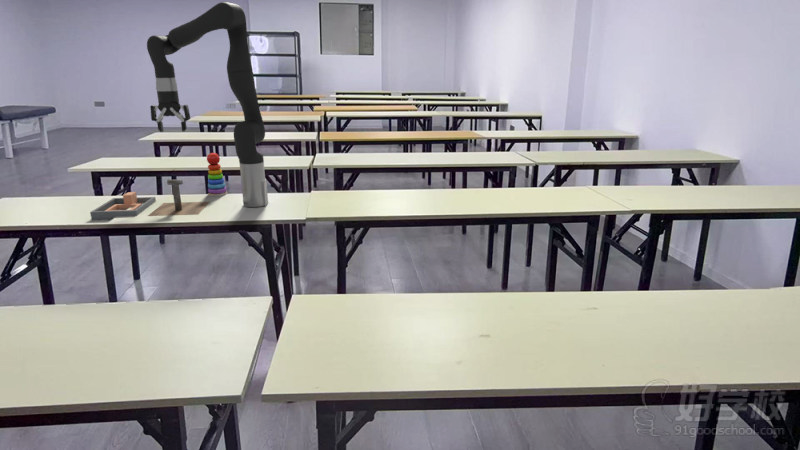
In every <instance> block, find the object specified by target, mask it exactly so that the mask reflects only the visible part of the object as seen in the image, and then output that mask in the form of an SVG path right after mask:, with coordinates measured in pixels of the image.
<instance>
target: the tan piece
mask: <svg viewBox="0 0 800 450" xmlns="http://www.w3.org/2000/svg"><path fill="white" fill-rule="evenodd" d="M137 197H138V196H137V191H130V192H129V191H128V192H126V193H125V194H123V195H122V198H123V199H124V204H115V205H113V206H112V207H110V208H108V209H107V210H105V211H121V210H117V209H127V210H135V209H137V208H138V207H140V206H141V205H142V204H143V203H138V201H137ZM129 208H130V209H129Z"/></svg>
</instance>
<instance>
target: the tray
mask: <svg viewBox="0 0 800 450" xmlns="http://www.w3.org/2000/svg"><path fill="white" fill-rule="evenodd" d="M137 201H138V203H137V204H142V205H141V206H140V207H138V208H137V209H135V210H130V209H117V210H121V211H105V210H107V209H108V208H110V207H112V206H113V205H115V204H124V199H123V197H113V198H111V199H110V200H108V201H106V202H104V203H102V204H101V205H100V206H98V207H96V208H95V209H93V210H91V211H90V212H89V213H90V217H91V218H90V219H91V221H102V220H105V221H106V220H114V219H116V218H117V217H133V216H134V217H135V216H138V215H140V214H141V213H142V212H144V211H145V210H146V209H148V208H149V207H151V206H152V205H153V204H155V202H157V200H156V196H145V197H144V196H143V197H141V196H140V197H138V196H137Z"/></svg>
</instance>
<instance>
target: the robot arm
mask: <svg viewBox="0 0 800 450" xmlns="http://www.w3.org/2000/svg"><path fill="white" fill-rule="evenodd" d="M246 18H247V17H246V13H245V12H244V9H243V8H242V7H241V6H240V5H238V4H237V3H231V2H228V1H222V2H221V1H220V2H218V3H216V4H215V5H213V6H212V7H210V8H209V9H208V10H206V12H204V13H202V14H201V15H200V16H198V17H195V18H193V19H192V20H190V21H188V22H185V23H184V24H180V25H179V26H176V27H174V28H172V29H171V30H169V32H168V34H167V35H156V34H155V35H151V36H149V37H148V38H147V40H146V50H147V53H148V54H149V57H150V60H151V62H152V65H153V67H154V75H155V76H154V77H155V90H156V94H157V100H158V105H155V104H152V105H150V106H149V107H150V118H151V121H154V122H155V123H156V124H157V129H158V131H159V132H160V133H163V132H164V124H163V122H162V121H163V120H164V118H165V117H176V118H177V119H179V120H180V121H181V122H180V125H181V131H182V132H186V131H187V127H188V126H187V121H189V120H191V115H190V109H189V105H188V104H184V105H183V104H182V105H181V104H180V100H179V90H178V84H177V83H178V82H177V80H176V73H175V67H174V64H173V63H172V62H170V61H169V60H168V59H167V56H169V55H173V54H175V53H177V52H178V51H179V50H181V49H182V48H184V47H186V46H189V45H191V44H194V43H196V42H197V41H199V40H200V39H201V38H202V37H203V36H205V35H206V34H207V33H211V32H213V31H218V30H226V32H227V35H228V40H229V41H228V43H229V50H228V51H229V53H228V55H227V63H226V73H227V78H228V79H227V80H228V83H229V87H230V89H231V91H232V93H233V94H234V96H235V98H236V99H237V100H238V102H239V104H240V106H241V109H242V112H243V117H244V120H243V121H239V122H237V123H236V124H235V126H234V129H233V141H234V147H235V154H236V156H237V158H238V162H239V171H240V183H241V193H242V202H243V203H242V204H243V206H244V207H247V208H258V207H266V206H267V205H268V203H269V197H268V196H269V195H268V186H267V179H266V174H265V161H264V159H265V158H264V155H263V153H260V152H258V150H257V145H256V144H259V143H261V142H263V141H264V139H265V136H266V128H265V124H264V121H263V117H262V113H261V110H260V109H261V108H260V105H259V100H258V99H259V98H258V95H257V90H256V89H257V88H256V83H255V77H254V72H253V67H252V62H251V61H252V59H251V55H250V49H249V42H248V32H247V31H248V29H247V19H246ZM181 109H182V111H183V112H184V115H183V114H182V113H181ZM158 110H159V111H160V113H159V115H158V117H157V111H158Z"/></svg>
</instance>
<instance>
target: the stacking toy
mask: <svg viewBox="0 0 800 450" xmlns="http://www.w3.org/2000/svg"><path fill="white" fill-rule="evenodd" d="M220 160H221V157H220V156H219V154H218V153H216V152H210V153H209V154H208V155H207V156H206V162H207V163H208V165H207V169H208V171H207V173H208V174H207V179H208V180H207V182H208V183H207V187H208V189H207V192H208V193H207V195H208V196H209V197H221V196H225V195H228V192H227V190H228V188H227V186H226V183H225V178H224V175H223V170H222V168H221V164H220Z"/></svg>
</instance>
